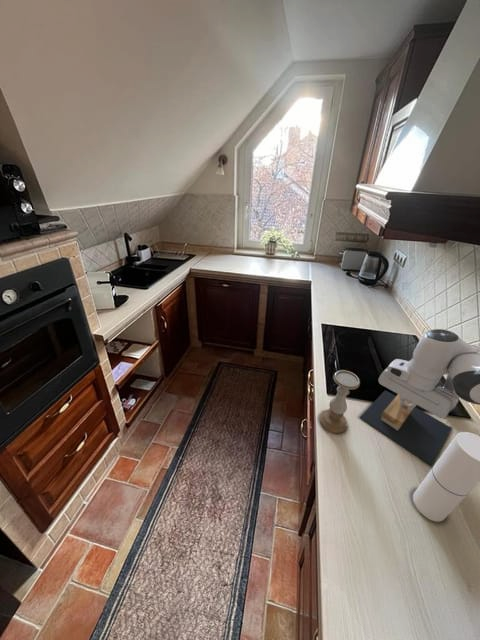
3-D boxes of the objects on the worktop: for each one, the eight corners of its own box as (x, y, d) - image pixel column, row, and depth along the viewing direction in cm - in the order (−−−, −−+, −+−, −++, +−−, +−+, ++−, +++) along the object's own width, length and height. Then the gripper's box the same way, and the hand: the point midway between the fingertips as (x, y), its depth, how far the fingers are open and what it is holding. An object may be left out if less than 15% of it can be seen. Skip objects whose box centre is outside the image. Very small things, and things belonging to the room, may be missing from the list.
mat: (450, 428, 86) (451, 427, 85) (431, 466, 74) (431, 465, 74) (384, 390, 100) (385, 389, 100) (359, 417, 89) (360, 416, 88)
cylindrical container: (406, 496, 67) (448, 437, 55) (425, 486, 70) (469, 427, 57) (432, 526, 62) (485, 469, 49) (452, 514, 64) (507, 457, 51)
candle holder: (346, 416, 89) (362, 372, 79) (346, 437, 82) (363, 392, 72) (321, 408, 92) (332, 365, 81) (318, 428, 85) (330, 383, 74)
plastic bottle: (456, 411, 92) (484, 369, 82) (443, 416, 90) (471, 374, 79) (438, 398, 97) (463, 357, 87) (426, 403, 95) (450, 362, 85)
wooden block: (416, 404, 88) (398, 394, 92) (402, 423, 81) (383, 411, 85) (411, 413, 90) (393, 402, 94) (397, 432, 84) (379, 420, 87)
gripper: (464, 391, 73) (443, 422, 80) (391, 356, 86) (379, 385, 94) (458, 402, 70) (437, 434, 77) (383, 364, 83) (370, 394, 90)
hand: (404, 407), depth 85 cm, fingers closed
